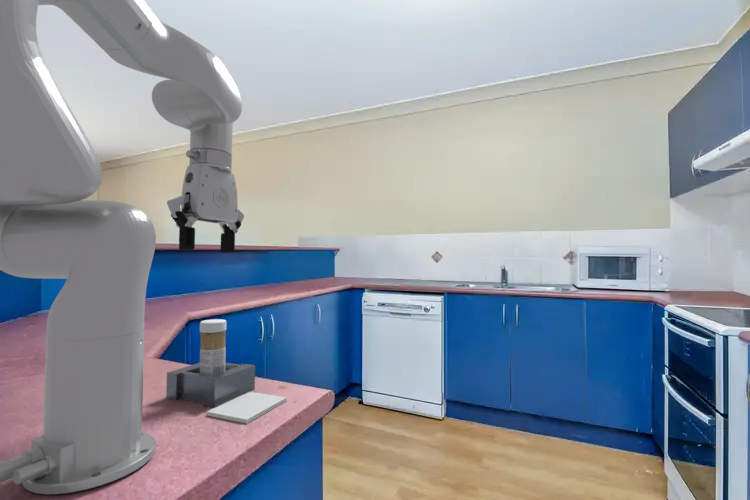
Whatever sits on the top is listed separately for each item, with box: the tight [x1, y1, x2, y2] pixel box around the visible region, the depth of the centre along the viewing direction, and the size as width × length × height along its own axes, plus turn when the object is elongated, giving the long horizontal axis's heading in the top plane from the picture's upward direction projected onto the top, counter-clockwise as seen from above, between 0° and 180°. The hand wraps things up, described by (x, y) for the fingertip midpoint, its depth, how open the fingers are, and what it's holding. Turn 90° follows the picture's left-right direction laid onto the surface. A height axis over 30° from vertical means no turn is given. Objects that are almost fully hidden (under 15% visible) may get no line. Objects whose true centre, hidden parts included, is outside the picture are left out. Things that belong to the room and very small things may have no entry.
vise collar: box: [166, 362, 256, 408], centre depth 69 cm, size 10×11×4 cm
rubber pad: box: [206, 391, 287, 424], centre depth 62 cm, size 10×8×1 cm
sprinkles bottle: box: [199, 318, 227, 376], centre depth 70 cm, size 5×5×13 cm
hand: (208, 251), depth 72 cm, fingers open, 9 cm apart
